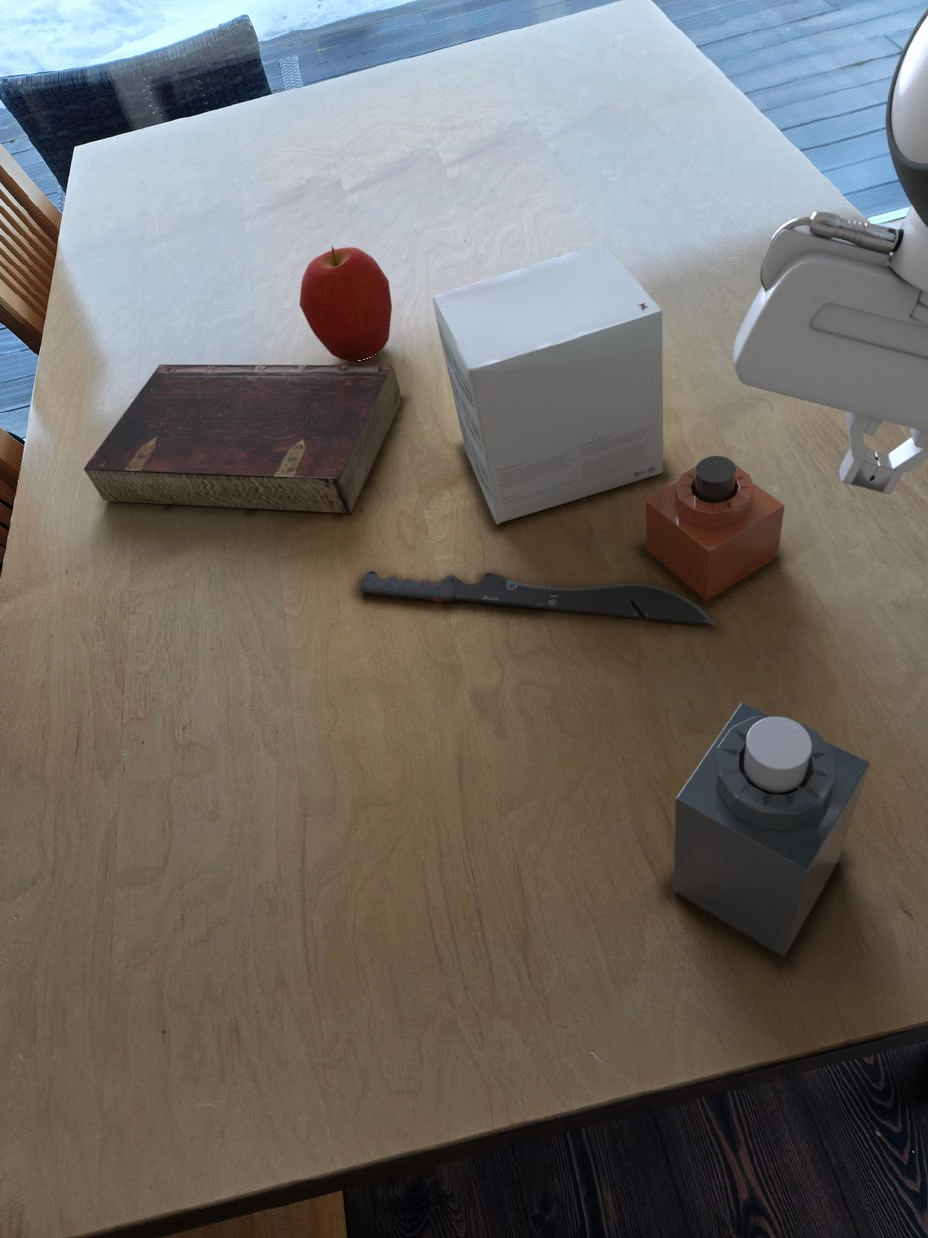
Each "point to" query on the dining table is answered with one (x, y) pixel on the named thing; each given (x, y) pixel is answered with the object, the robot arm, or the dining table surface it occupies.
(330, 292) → the apple
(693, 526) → the button base
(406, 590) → the knife
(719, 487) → the dark grey cylinder
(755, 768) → the cylinder
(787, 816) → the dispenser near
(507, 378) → the supplement box
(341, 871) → the dining table surface
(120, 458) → the book
